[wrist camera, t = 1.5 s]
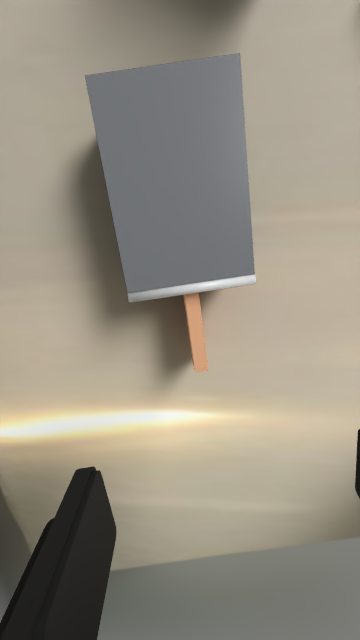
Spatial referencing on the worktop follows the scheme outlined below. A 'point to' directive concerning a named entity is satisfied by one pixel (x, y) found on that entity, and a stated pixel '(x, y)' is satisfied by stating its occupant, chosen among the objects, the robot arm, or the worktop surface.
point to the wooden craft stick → (195, 331)
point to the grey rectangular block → (176, 174)
